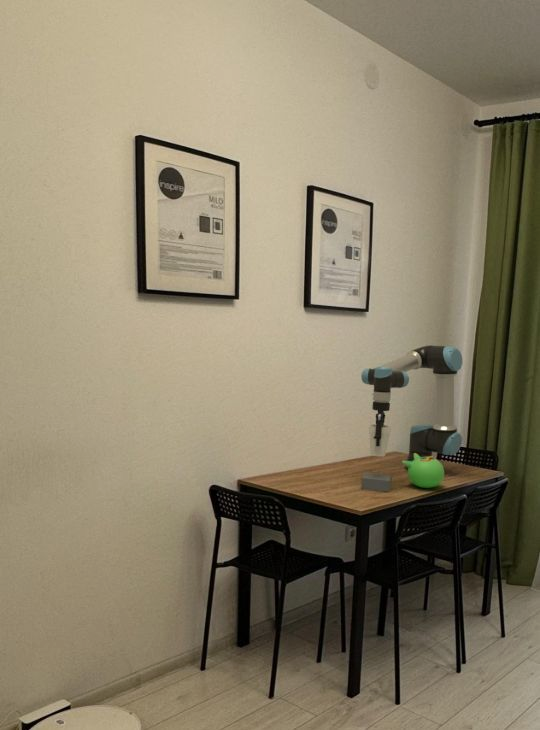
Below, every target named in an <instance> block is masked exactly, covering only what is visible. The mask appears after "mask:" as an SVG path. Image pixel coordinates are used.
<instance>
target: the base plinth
mask: <svg viewBox="0 0 540 730" xmlns="http://www.w3.org/2000/svg"><path fill="white" fill-rule="evenodd" d="M391 484H392V474H385V473H384V474H382V473H372V472H364V473H363V475H362V477H361V487H360V488H361V490H364V489H367V491H373V490H378V491H377V492H382V491H387V492H386V493H390V490H391V487H390V486H391Z"/></svg>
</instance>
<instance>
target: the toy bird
mask: <svg viewBox="0 0 540 730" xmlns="http://www.w3.org/2000/svg"><path fill="white" fill-rule="evenodd" d="M413 455H414V460H413V461H406V460H402V461H401V463H402V465H404V467H405V466H407V467H408V470H407V475H408V478H409V481H410V482H411V483H412V484H413V485H415V486H417V487H418V488H422V489H432V488H434V487H437V486H439V485H441V483H442V482H443V480H444V478H445V469H444V466H443V464H442V463H441V462H440V461H439V460H438V459H436V458H434V456H433V455H432V456H430V457H426V456H425V457H420V456H419V455H418V454H416V453H414V454H413Z"/></svg>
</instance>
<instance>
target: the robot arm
mask: <svg viewBox="0 0 540 730" xmlns="http://www.w3.org/2000/svg"><path fill="white" fill-rule="evenodd" d="M462 365H463V355H462V353H461V351H460V350H459V348H457V347H455V346H449V345H424V346H421V347H417V348H414V349H412V350H409V351H408V352H407V353H406V355H404V356H403V355H402V356H401V357H399V358H396V359H394V360H392V361H389V362H387V363H384V364H382V365H380V366H376V367H374V368H365V369H363V370H362V372H361V377H360V378H361V382H362V383H363V384H365V385H369V386H373V393H371V396H372V400H373V401H372V410H373V411H377V413H375V424H376V432H375V437H374V439H375V448H374V453H376V454H381V434H382V427H383V425H385V419H386V413H385V412H388V411H390V405H391V403H390V401H391V394H392V393H391V389H394V388H395V389H403V388H405V387H407V386H408V384H409V383H410V377H409V375H408V373H407V372H409V371H411V370H413V371H414V370H415V371H416V370H419V369H430V370H432V375H434V376H435V424H434V425H433V424H432V425H431V424H419V425H413V426H411V427H410V431H409V432H410V433H409V447H408V448H409V449H408V456H407V457H406V459H405V461H413V460H414V455H413V454H414V453H416V454H418V455H419V456H420V457H425V456H426V457H430V456H433V453H436V454H437V453H438V454H441V455H445V456H454V455H455V454H457V453H458V452H459V450H460V448H461V445H462V442H463V438H462V434H461V433H459V432H458V428H457V426H456V425H455V420H454V419H455V415H454V414H455V377H456V375H458V371H460V370H461V369H462ZM405 468H406V469H405ZM404 469H405V470H407V469H408V467H407V466H405V465H404Z"/></svg>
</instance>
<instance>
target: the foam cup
mask: <svg viewBox="0 0 540 730" xmlns="http://www.w3.org/2000/svg"><path fill="white" fill-rule="evenodd" d="M391 427H392V426H390V425H387V424H386V425H385V424H384V425H383V427H382V434H381V454H376V453H374V448H375V439H374V437H375V432H376V423H375V424H369V425H368V433H369V446H370V448H369V449H370V456H374V457H385V456H386V453H387V449H388V443H389V438H390V433H391V429H392V428H391Z"/></svg>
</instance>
